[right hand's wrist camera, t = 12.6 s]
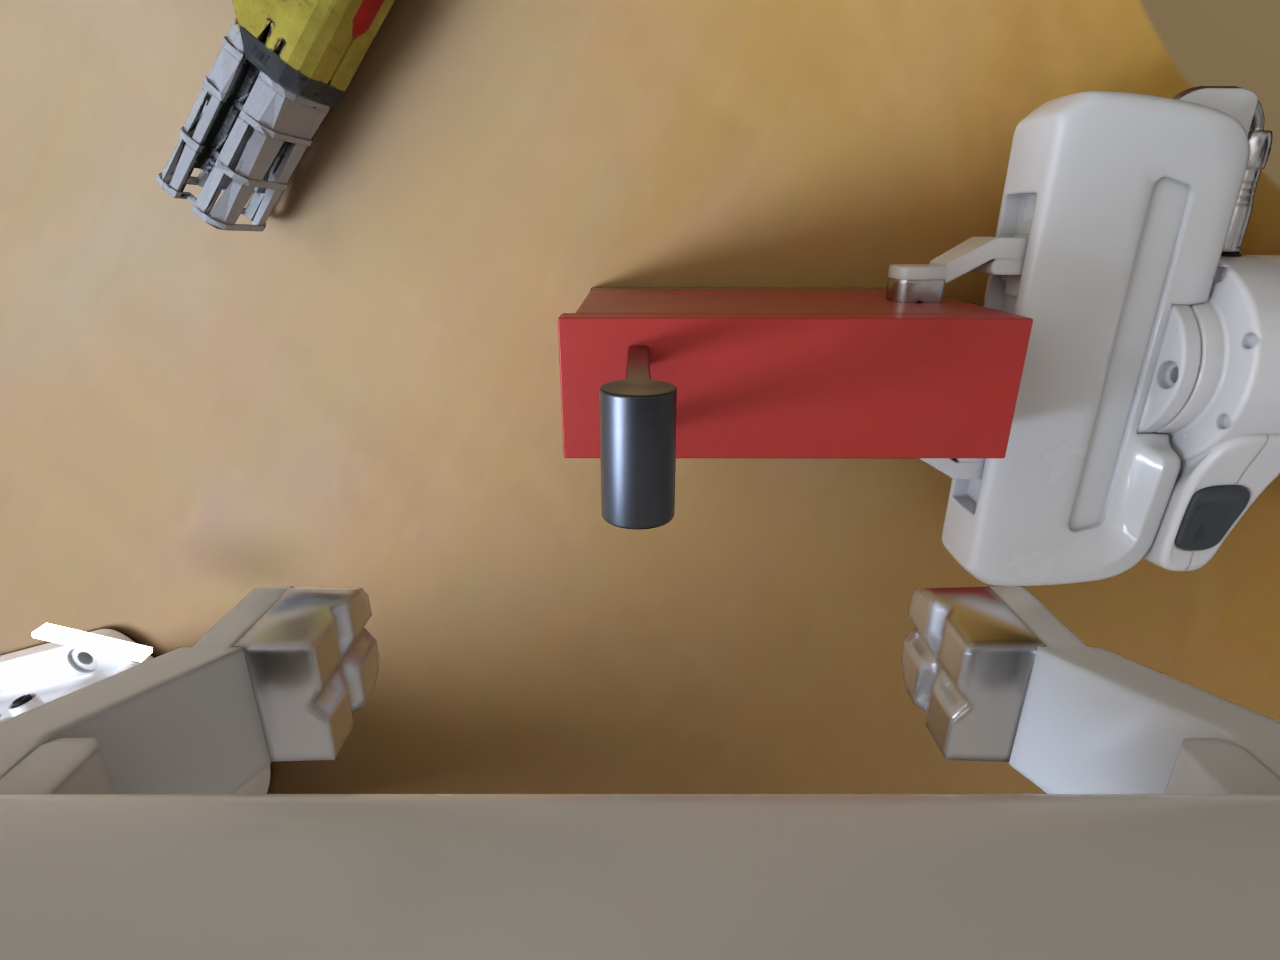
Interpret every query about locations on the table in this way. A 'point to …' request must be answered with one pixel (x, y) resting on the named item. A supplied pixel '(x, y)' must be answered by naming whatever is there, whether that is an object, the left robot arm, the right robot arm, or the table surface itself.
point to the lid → (779, 392)
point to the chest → (763, 302)
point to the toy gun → (267, 102)
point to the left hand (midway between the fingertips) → (881, 362)
